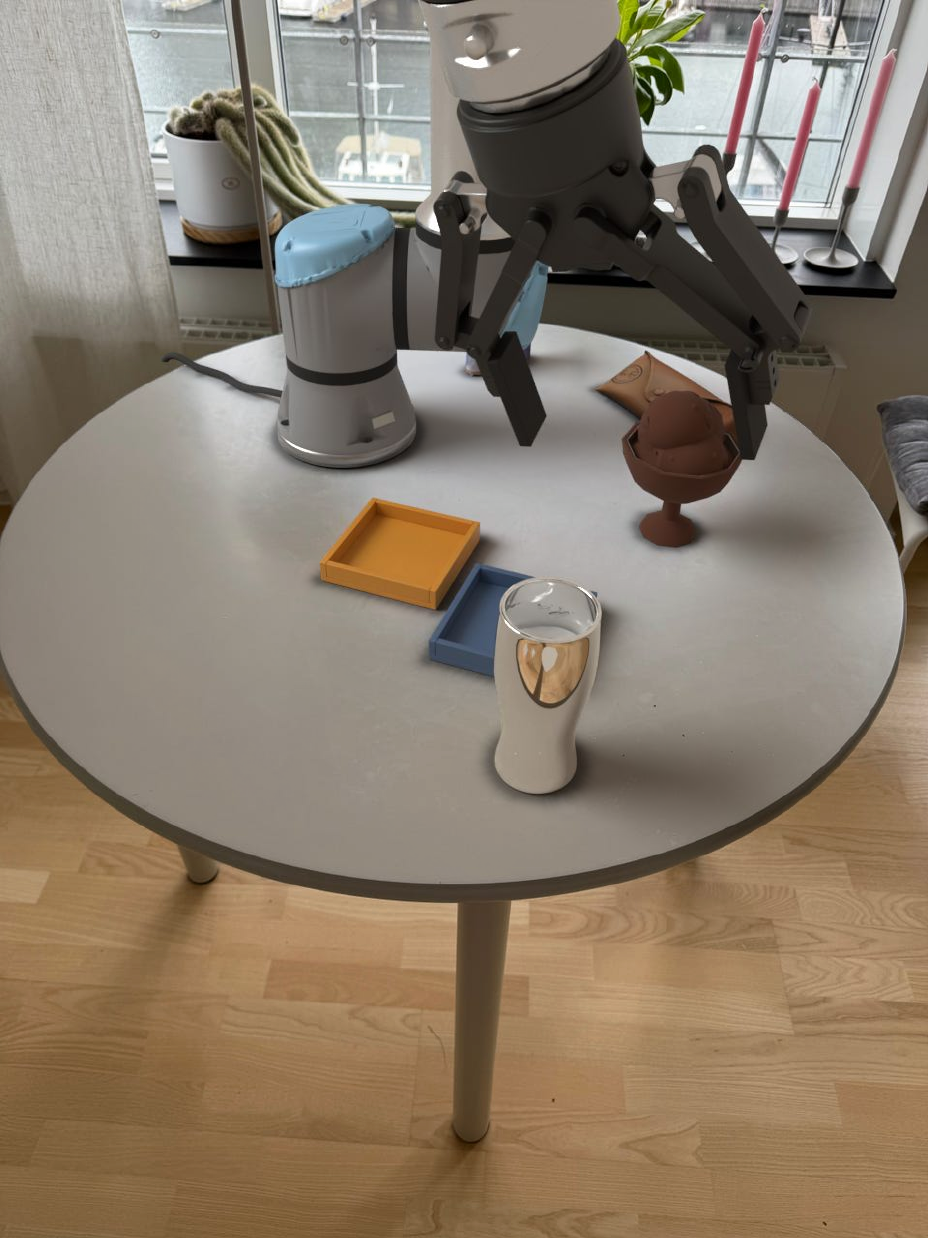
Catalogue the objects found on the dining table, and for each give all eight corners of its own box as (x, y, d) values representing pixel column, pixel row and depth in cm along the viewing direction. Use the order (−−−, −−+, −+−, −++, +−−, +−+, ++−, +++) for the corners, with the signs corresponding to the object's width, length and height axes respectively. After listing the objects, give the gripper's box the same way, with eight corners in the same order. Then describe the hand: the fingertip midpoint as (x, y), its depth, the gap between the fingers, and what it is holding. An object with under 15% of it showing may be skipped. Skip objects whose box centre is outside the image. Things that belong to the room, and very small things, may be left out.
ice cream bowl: (725, 570, 89) (760, 427, 80) (605, 554, 91) (624, 412, 81) (725, 507, 97) (757, 369, 87) (614, 493, 99) (633, 356, 89)
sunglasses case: (589, 386, 115) (617, 335, 113) (625, 402, 120) (653, 353, 117) (689, 456, 104) (723, 400, 101) (724, 470, 108) (758, 417, 106)
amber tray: (321, 580, 87) (319, 562, 86) (373, 514, 95) (372, 497, 94) (435, 610, 84) (435, 591, 83) (479, 540, 92) (480, 522, 91)
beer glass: (483, 730, 74) (490, 576, 64) (573, 725, 74) (594, 572, 64) (493, 802, 69) (502, 646, 59) (590, 797, 69) (615, 641, 59)
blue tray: (428, 659, 80) (428, 640, 78) (475, 580, 88) (476, 562, 86) (558, 695, 77) (560, 676, 75) (595, 610, 85) (597, 592, 83)
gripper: (269, 147, 45) (431, 468, 61) (822, 72, 33) (848, 501, 48) (343, 63, 49) (478, 387, 64) (869, -35, 36) (879, 398, 52)
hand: (637, 436), depth 56 cm, fingers open, 13 cm apart
